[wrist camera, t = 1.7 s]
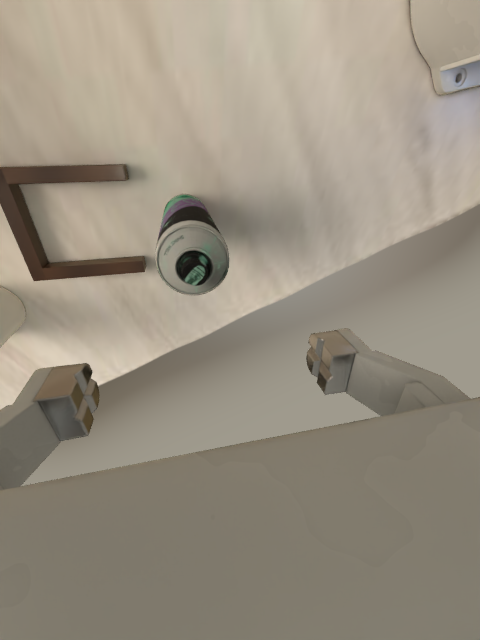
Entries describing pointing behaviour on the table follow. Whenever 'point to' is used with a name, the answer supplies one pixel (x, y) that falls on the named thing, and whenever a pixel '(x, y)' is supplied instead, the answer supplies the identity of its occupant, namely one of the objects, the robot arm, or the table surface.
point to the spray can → (190, 248)
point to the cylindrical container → (10, 314)
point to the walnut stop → (6, 191)
